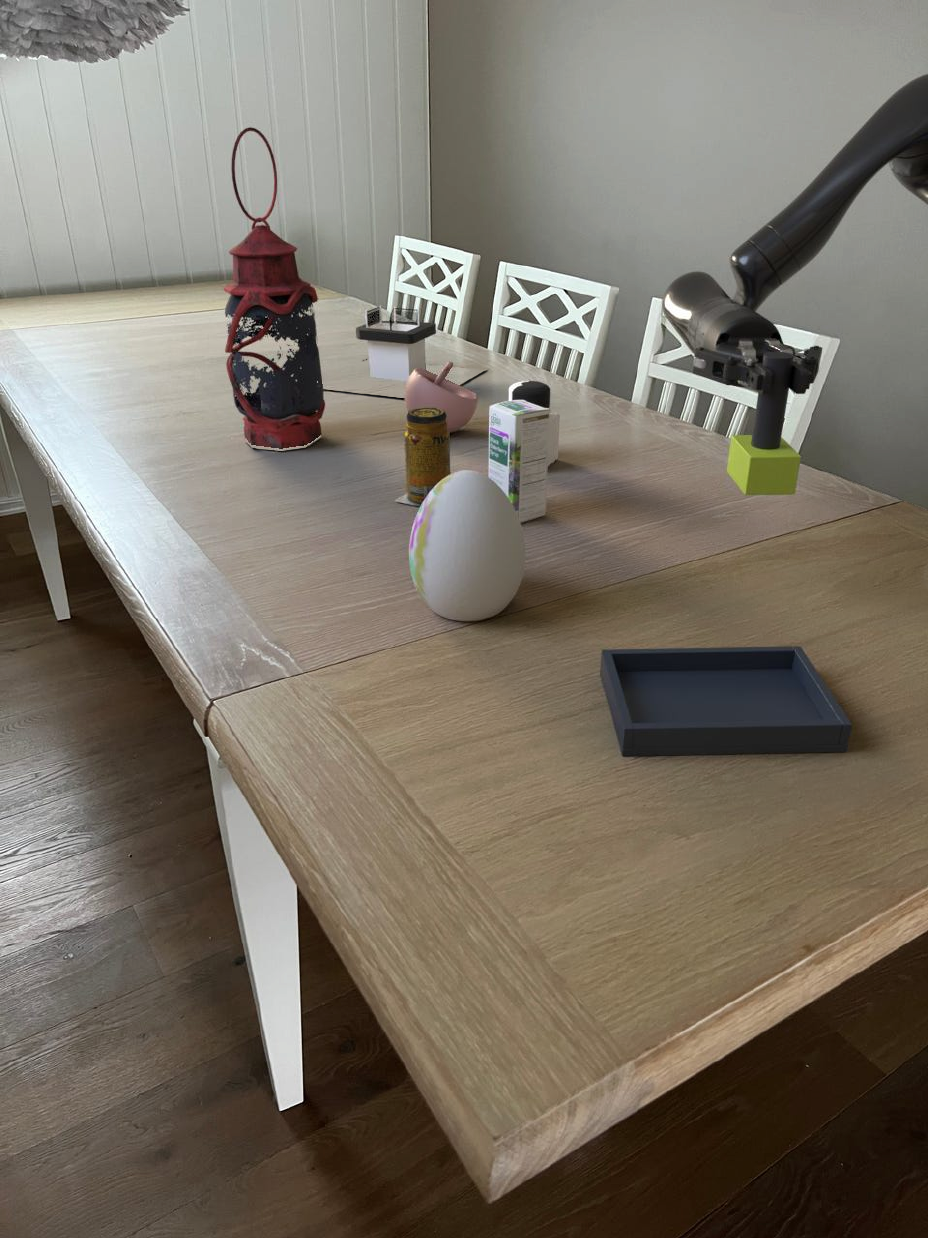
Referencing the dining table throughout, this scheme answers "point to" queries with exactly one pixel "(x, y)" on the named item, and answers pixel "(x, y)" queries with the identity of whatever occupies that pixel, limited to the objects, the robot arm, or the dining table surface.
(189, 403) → the dining table surface
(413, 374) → the mortar and pestle
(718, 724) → the tray
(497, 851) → the dining table surface
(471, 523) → the decorative egg
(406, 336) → the black-topped pedestal
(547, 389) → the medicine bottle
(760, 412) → the sponge wand
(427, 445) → the condiment
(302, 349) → the lantern
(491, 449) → the syrup box
